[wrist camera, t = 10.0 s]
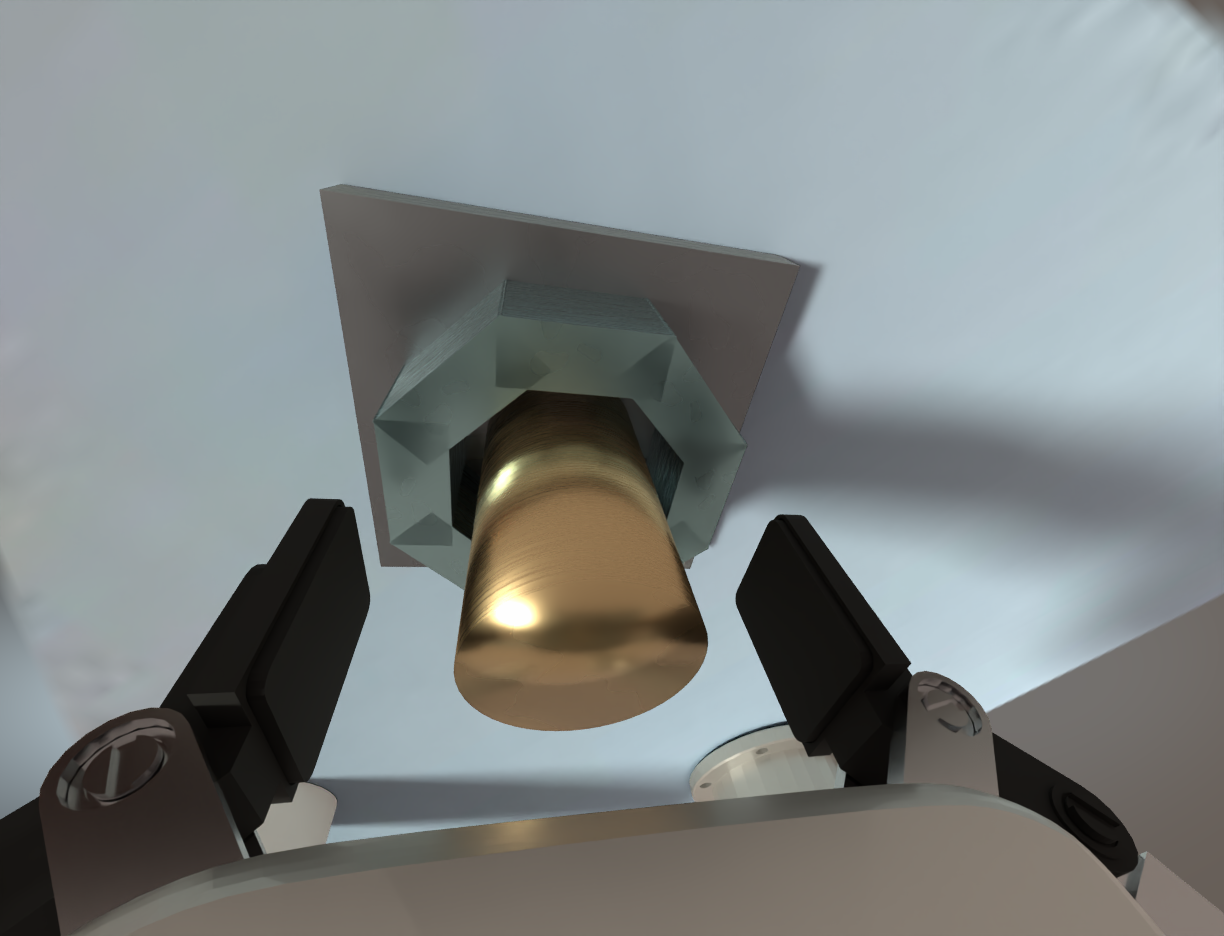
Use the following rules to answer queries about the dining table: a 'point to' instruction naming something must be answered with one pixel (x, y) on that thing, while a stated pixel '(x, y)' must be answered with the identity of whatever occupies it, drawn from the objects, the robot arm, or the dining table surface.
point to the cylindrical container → (299, 820)
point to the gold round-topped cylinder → (572, 573)
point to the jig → (538, 353)
